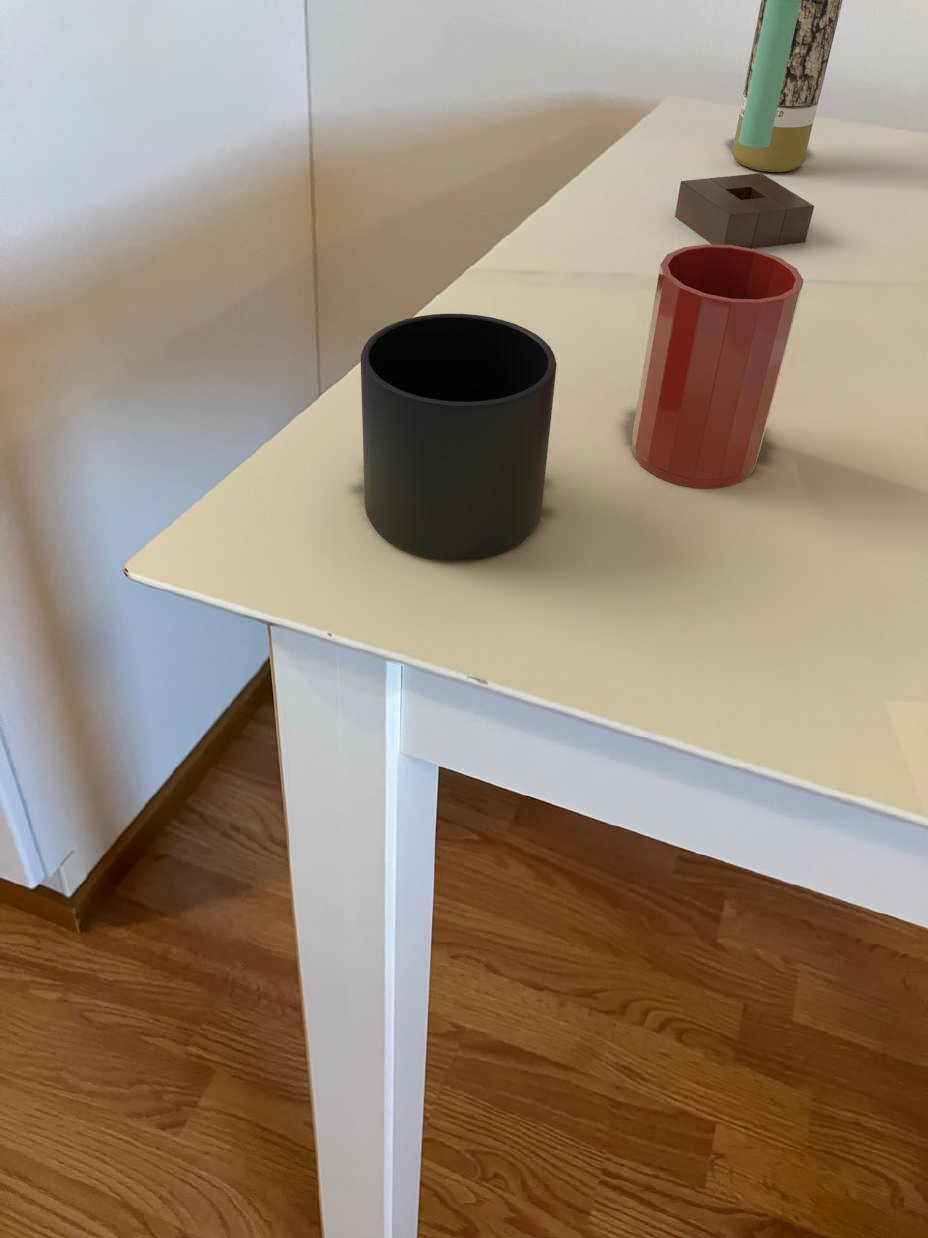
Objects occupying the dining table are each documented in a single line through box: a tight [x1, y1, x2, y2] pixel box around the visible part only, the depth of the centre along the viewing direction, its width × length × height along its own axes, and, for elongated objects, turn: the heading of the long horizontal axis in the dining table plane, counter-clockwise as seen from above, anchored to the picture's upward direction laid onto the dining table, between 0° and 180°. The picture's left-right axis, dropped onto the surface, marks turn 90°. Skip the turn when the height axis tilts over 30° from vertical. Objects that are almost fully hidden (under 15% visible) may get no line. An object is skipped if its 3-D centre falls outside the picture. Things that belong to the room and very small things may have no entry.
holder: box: [674, 172, 815, 250], centre depth 85 cm, size 8×8×4 cm
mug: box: [360, 313, 557, 562], centre depth 55 cm, size 9×12×9 cm
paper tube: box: [732, 0, 844, 173], centre depth 94 cm, size 7×7×25 cm
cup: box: [631, 243, 805, 489], centre depth 59 cm, size 7×7×11 cm
